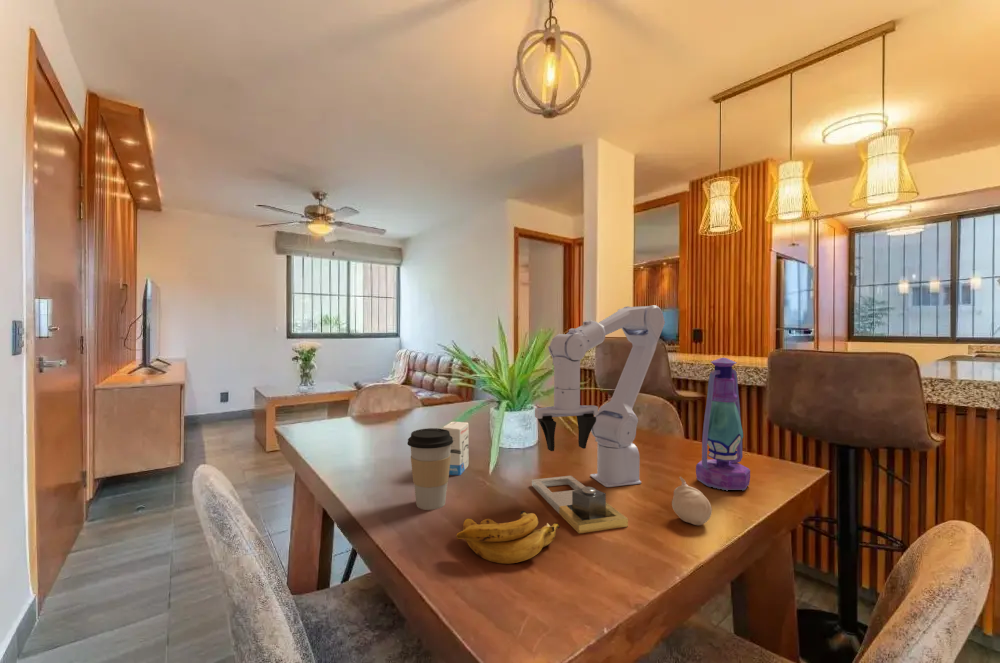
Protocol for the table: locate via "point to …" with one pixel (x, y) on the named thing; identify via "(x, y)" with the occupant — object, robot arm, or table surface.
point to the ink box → (458, 447)
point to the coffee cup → (430, 466)
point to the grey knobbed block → (589, 503)
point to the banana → (507, 538)
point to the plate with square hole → (564, 506)
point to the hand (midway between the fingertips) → (566, 448)
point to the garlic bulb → (691, 504)
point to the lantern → (723, 432)
